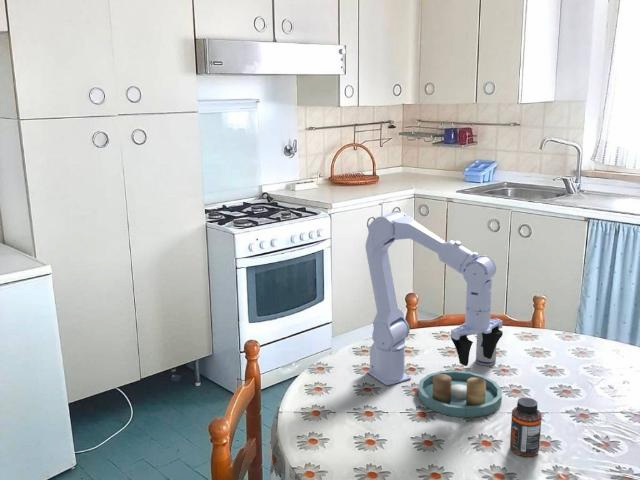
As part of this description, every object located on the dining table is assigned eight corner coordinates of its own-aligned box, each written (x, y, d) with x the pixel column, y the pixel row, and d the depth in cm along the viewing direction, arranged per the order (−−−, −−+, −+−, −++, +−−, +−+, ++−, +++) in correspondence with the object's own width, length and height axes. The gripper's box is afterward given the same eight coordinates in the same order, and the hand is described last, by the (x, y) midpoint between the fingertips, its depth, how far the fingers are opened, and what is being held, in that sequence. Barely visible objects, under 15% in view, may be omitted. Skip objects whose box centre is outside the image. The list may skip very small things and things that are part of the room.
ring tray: (402, 390, 165) (402, 382, 164) (462, 372, 174) (463, 364, 173) (455, 425, 148) (455, 416, 147) (518, 403, 157) (519, 394, 156)
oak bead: (462, 403, 157) (463, 380, 155) (475, 398, 159) (476, 375, 157) (474, 410, 153) (475, 387, 152) (488, 406, 155) (489, 383, 154)
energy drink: (496, 366, 177) (498, 325, 175) (475, 365, 178) (477, 324, 176) (494, 358, 182) (497, 318, 180) (475, 357, 184) (477, 317, 181)
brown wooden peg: (442, 394, 161) (443, 372, 159) (454, 402, 157) (455, 379, 156) (428, 399, 159) (429, 376, 157) (440, 406, 155) (441, 383, 154)
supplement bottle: (505, 443, 140) (508, 395, 138) (532, 441, 141) (535, 393, 138) (515, 458, 135) (519, 409, 132) (543, 456, 135) (547, 407, 132)
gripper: (466, 318, 147) (463, 373, 150) (513, 307, 154) (509, 360, 157) (445, 309, 153) (443, 362, 156) (491, 298, 160) (489, 350, 163)
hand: (475, 360), depth 157 cm, fingers open, 7 cm apart
